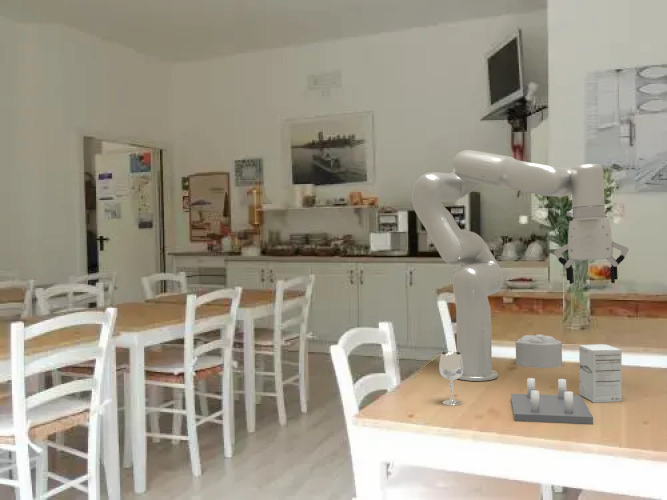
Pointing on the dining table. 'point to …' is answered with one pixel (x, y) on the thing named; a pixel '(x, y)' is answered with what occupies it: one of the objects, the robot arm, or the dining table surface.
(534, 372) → the dining table surface
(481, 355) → the robot arm
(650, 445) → the dining table surface
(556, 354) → the lumpy-topped squat cylinder
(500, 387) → the dining table surface
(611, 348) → the supplement box
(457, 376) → the wineglass
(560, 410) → the pin tray
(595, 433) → the dining table surface
